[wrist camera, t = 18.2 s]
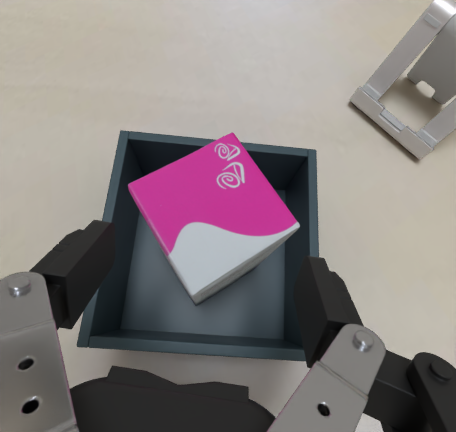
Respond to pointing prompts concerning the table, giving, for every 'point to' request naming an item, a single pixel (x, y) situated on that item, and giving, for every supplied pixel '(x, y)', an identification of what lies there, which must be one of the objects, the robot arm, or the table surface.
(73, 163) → the table surface
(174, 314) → the bin
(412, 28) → the tablet stand
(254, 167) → the supplement box
